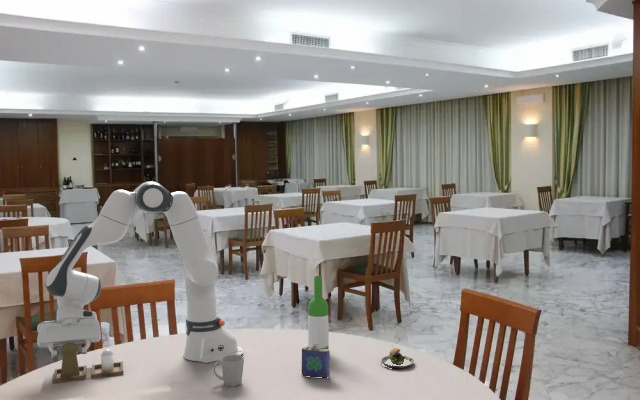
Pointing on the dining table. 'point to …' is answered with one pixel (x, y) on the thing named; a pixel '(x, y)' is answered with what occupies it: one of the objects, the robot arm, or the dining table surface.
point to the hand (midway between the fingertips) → (69, 354)
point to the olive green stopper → (69, 360)
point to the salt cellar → (107, 361)
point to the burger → (396, 358)
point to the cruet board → (89, 373)
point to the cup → (231, 369)
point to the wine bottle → (318, 318)
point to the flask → (315, 362)
